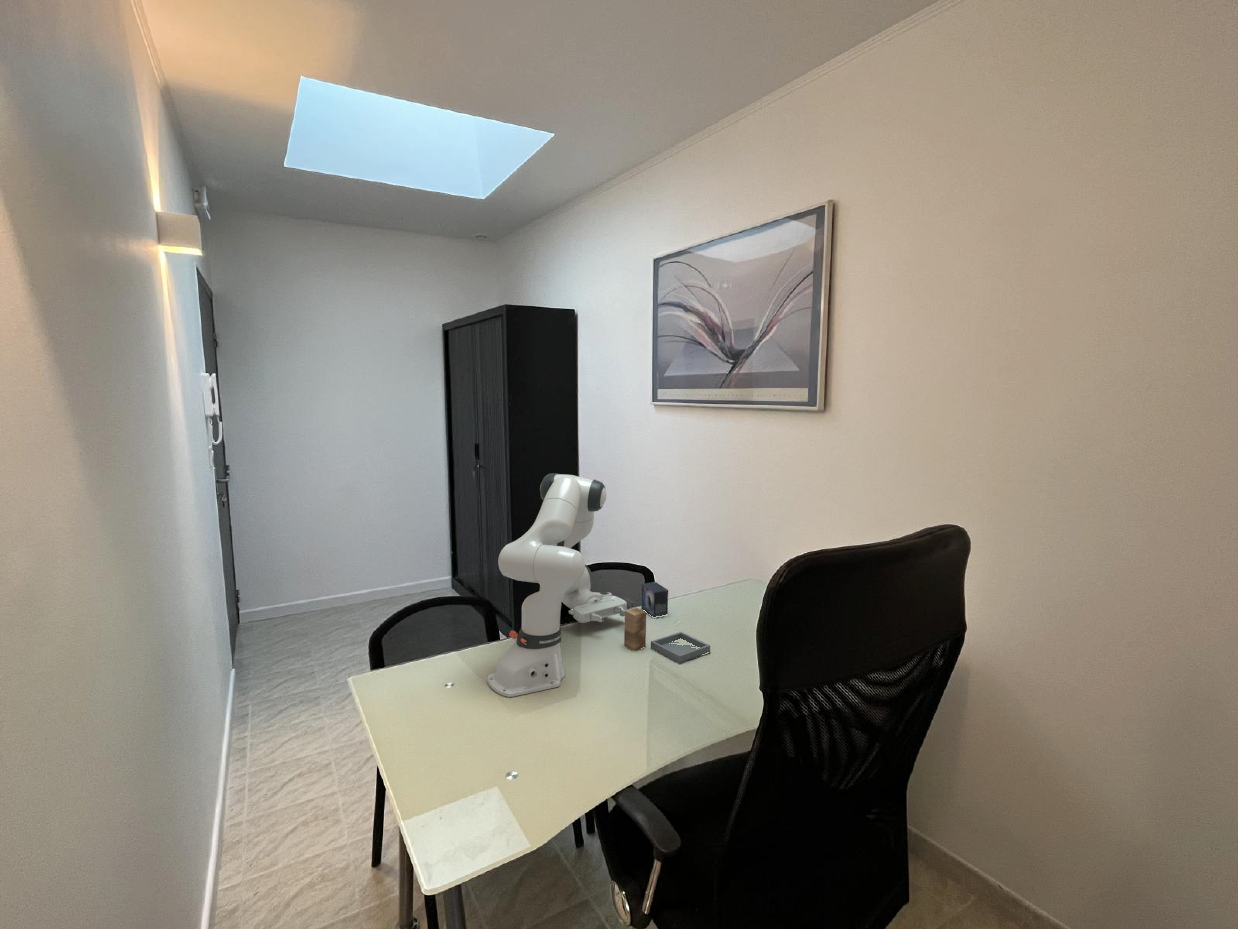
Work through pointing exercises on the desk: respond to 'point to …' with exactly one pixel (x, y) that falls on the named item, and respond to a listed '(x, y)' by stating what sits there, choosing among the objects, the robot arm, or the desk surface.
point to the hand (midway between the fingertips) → (613, 616)
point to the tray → (679, 647)
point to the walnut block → (635, 629)
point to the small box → (654, 599)
